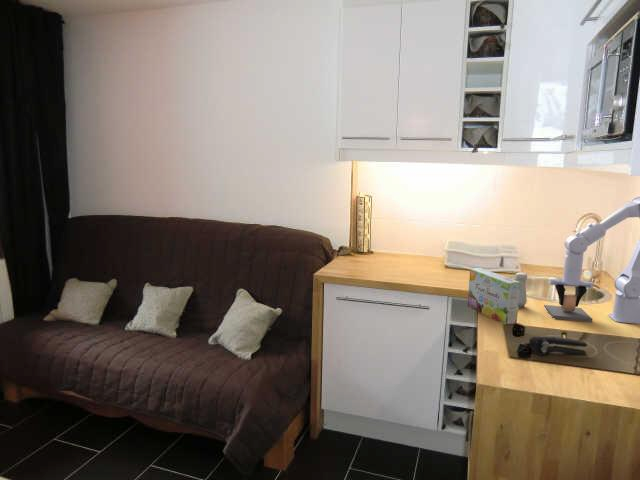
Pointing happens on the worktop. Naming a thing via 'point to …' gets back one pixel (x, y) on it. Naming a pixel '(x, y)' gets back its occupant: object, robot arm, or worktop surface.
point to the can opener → (543, 348)
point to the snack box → (494, 295)
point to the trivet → (568, 313)
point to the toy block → (569, 302)
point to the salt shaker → (522, 288)
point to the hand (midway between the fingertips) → (568, 305)
